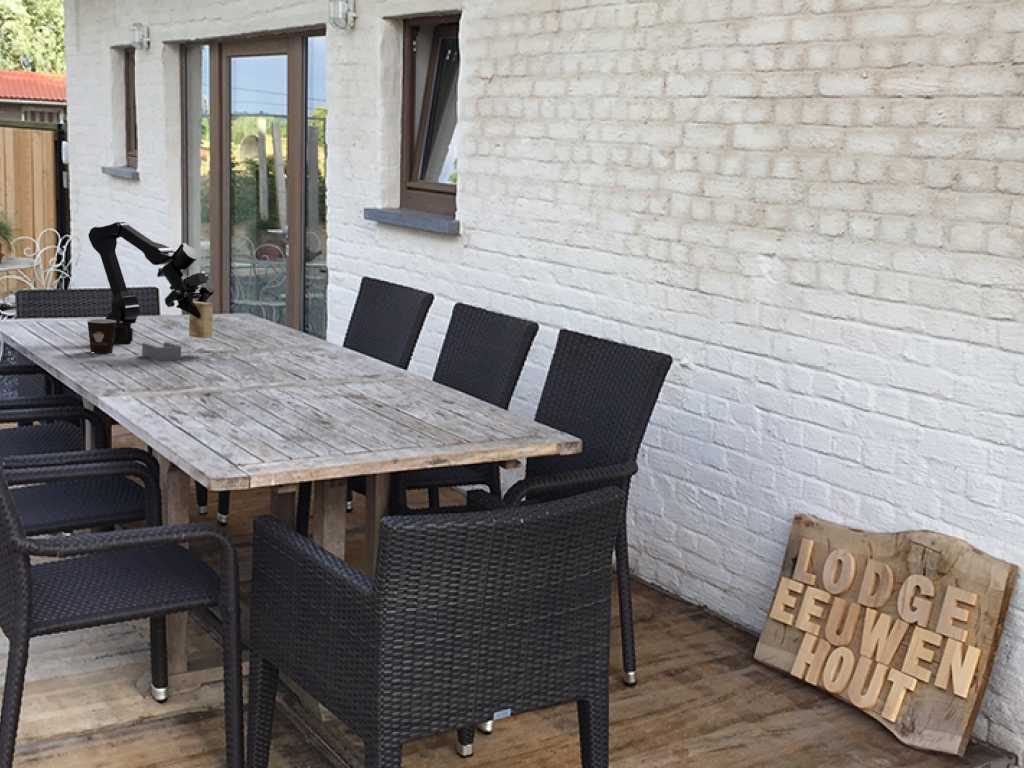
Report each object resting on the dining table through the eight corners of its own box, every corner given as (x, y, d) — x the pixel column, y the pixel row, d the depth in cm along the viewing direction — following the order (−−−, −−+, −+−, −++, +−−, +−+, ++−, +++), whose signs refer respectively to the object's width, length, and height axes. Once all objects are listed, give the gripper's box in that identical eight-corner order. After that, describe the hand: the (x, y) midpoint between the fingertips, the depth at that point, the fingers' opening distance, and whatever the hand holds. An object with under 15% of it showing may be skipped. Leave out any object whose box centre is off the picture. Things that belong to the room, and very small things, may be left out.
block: (189, 336, 388) (189, 302, 386) (197, 335, 391) (197, 301, 389) (204, 338, 385) (204, 304, 383) (212, 337, 389) (212, 303, 387)
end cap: (142, 355, 380) (142, 343, 380) (167, 354, 386) (167, 342, 385) (155, 360, 373) (155, 348, 372) (180, 359, 379) (181, 346, 378)
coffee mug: (81, 352, 379) (81, 320, 377) (100, 349, 387) (100, 318, 385) (111, 356, 375) (111, 325, 373) (129, 353, 383) (129, 322, 381)
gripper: (172, 264, 377) (200, 303, 375) (210, 261, 394) (237, 299, 392) (152, 286, 382) (179, 325, 379) (190, 283, 399) (217, 320, 396)
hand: (204, 316), depth 387 cm, fingers closed on block, 4 cm apart
